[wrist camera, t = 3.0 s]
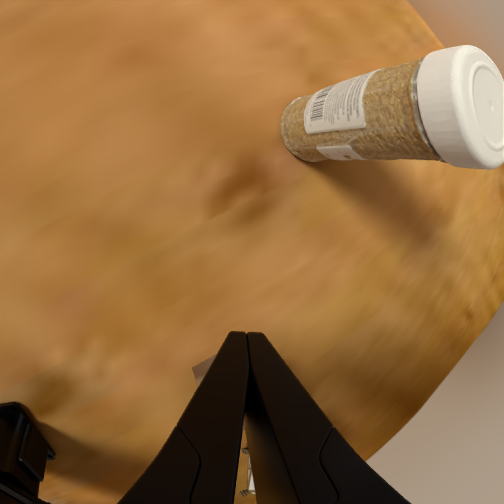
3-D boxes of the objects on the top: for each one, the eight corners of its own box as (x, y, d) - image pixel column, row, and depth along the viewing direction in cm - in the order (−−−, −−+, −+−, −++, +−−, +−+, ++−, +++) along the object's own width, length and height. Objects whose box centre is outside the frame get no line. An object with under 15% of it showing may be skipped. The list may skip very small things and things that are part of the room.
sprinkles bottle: (309, 175, 21) (493, 198, 8) (263, 124, 19) (440, 79, 7) (349, 132, 21) (525, 125, 9) (308, 82, 19) (481, 25, 7)
